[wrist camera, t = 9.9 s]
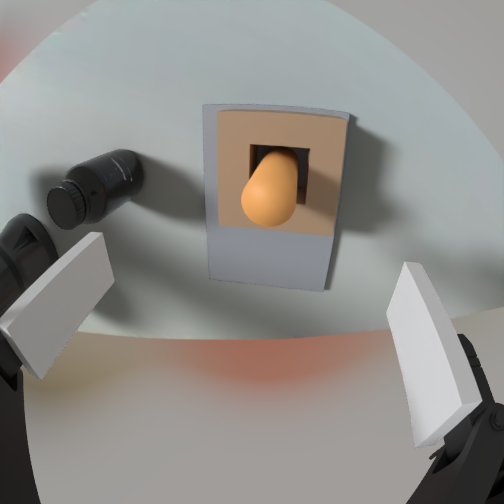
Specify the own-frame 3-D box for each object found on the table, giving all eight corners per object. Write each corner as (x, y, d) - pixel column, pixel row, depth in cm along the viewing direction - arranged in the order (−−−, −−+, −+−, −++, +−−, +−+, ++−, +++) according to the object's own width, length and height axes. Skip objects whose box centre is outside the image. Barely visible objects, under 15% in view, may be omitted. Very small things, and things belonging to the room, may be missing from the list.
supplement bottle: (151, 157, 32) (89, 189, 21) (140, 204, 35) (85, 250, 25) (107, 141, 31) (41, 168, 21) (100, 187, 35) (41, 225, 25)
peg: (263, 177, 30) (240, 224, 20) (264, 144, 28) (241, 173, 18) (296, 180, 29) (293, 229, 19) (299, 147, 28) (298, 178, 17)
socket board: (211, 274, 39) (198, 303, 34) (205, 104, 28) (184, 107, 23) (323, 287, 37) (324, 318, 32) (348, 112, 26) (358, 116, 21)
